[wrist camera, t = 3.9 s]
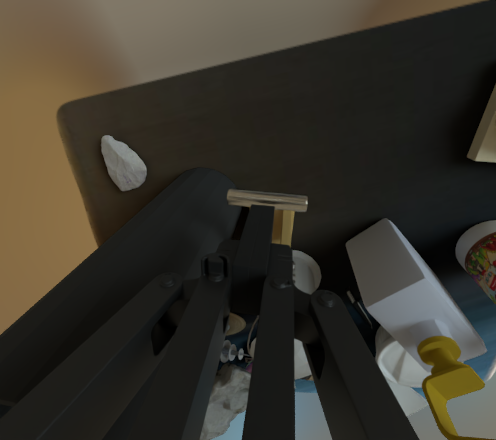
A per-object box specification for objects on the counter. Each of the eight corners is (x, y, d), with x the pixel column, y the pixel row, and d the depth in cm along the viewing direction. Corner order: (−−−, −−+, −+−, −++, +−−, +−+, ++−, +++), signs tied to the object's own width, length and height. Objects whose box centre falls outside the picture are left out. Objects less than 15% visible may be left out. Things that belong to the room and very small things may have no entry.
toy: (290, 353, 32) (283, 276, 39) (143, 371, 39) (158, 302, 46) (316, 376, 41) (307, 309, 47) (191, 387, 47) (198, 327, 54)
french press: (335, 277, 42) (383, 501, 20) (281, 315, 47) (271, 529, 25) (287, 236, 40) (281, 436, 18) (236, 281, 45) (182, 480, 23)
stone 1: (123, 192, 40) (117, 197, 38) (91, 143, 38) (83, 146, 36) (156, 177, 39) (151, 181, 37) (125, 125, 36) (118, 127, 35)
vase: (229, 159, 36) (56, 388, 10) (250, 227, 40) (170, 518, 14) (159, 177, 39) (-128, 397, 12) (186, 239, 43) (14, 505, 16)
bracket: (250, 191, 38) (233, 241, 27) (296, 195, 37) (297, 248, 26) (248, 236, 41) (232, 298, 30) (290, 240, 40) (289, 305, 29)
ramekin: (356, 322, 45) (364, 350, 41) (429, 297, 41) (447, 325, 37) (386, 364, 49) (396, 395, 44) (456, 345, 45) (475, 376, 40)
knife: (377, 327, 46) (378, 329, 45) (368, 330, 46) (368, 332, 46) (353, 284, 42) (354, 285, 42) (343, 287, 43) (344, 289, 43)
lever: (230, 179, 22) (224, 202, 21) (308, 186, 21) (307, 210, 20) (238, 257, 32) (234, 277, 30) (292, 263, 31) (291, 284, 29)
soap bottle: (436, 274, 39) (593, 494, 19) (392, 296, 42) (488, 509, 21) (386, 214, 36) (508, 396, 16) (342, 242, 39) (398, 428, 18)
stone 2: (279, 369, 40) (250, 451, 33) (242, 412, 59) (219, 468, 53) (190, 317, 42) (145, 383, 35) (183, 374, 62) (153, 424, 55)
